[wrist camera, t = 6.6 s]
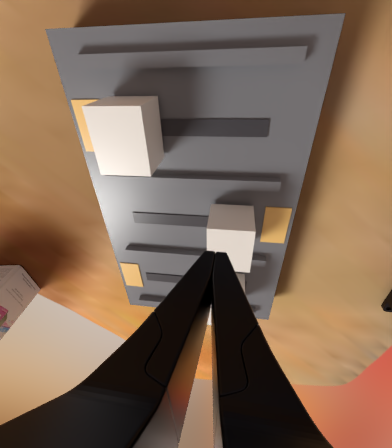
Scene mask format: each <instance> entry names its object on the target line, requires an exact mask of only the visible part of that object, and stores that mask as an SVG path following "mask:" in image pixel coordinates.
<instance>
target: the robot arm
mask: <svg viewBox="0 0 392 448" xmlns="http://www.w3.org/2000/svg"><path fill="white" fill-rule="evenodd" d="M381 306H382V308H383V310H384V311H386V312H392V290H391V292H390V293H389V295H388V296H387V298H386V299H385V301H384V302H383V303H382V305H381ZM210 309H211V333H212V381H213V429H214V448H333V447H332V445H331V444H330V443H329V442H328V441H327V440H326V438H325V437H324V436H323V435H322V433H321V432H320V431H319V429H318V428H317V426H316V425H315V424H314V422H313V421H312V419H311V417H310V416H309V414H308V413H307V411H306V409H305V407H304V406H303V404H302V403H301V401H300V399H299V397H298V396H297V394H296V392H295V391H294V389H293V387H292V386H291V384H290V382H289V381H288V379H287V377H286V376H285V374H284V372H283V371H282V369H281V367H280V365H279V364H278V362H277V360H276V358H275V356H274V355H273V353H272V351H271V349H270V347H269V345H268V343H267V341H266V339H265V337H264V335H263V332H262V330H261V328H260V326H259V325H258V321H257V319H256V317H255V315H254V312H253V310H252V308H251V306H250V304H249V301H248V299H247V297H246V295H245V292H244V290H243V288H242V286H241V284H240V281H239V279H238V277H237V275H236V272H235V270H234V268H233V266H232V263H231V261H230V259H229V257H228V255H227V253H226V252H216V253H215V252H214V251H204V252H203V253H202V254H201V256H200V257H199V258H198V259H197V260H196V261H195V263H194V264H193V265H192V266H191V267H190V269H189V270H188V271H187V272H186V273H185V274H184V276H183V277H182V278H181V279H180V280H179V281H178V283H177V284H176V285H175V286H174V287H173V289H172V290H171V291H170V292H169V293H168V294H167V296H166V297H165V298H164V299H163V300H162V302H161V303H160V304H159V305H158V306H157V307H156V309H155V310H154V312H152V313H151V314H150V316H149V317H148V318H147V319H146V320H145V321H144V322H143V324H142V325H141V326H140V327H139V328H138V329H137V330H136V331H135V332H134V333H133V334H132V335H131V336H130V337H129V338H128V339H127V340H126V341H125V342H124V343H123V344H122V345H121V346H120V347H119V348H118V349H117V350H116V351H115V352H114V353H113V354H112V355H111V356H110V357H108V358H107V359H106V360H105V361H104V362H103V363H102V364H101V365H100V366H99V367H98V368H97V369H96V370H95V371H94V372H93V373H92V374H90V375H89V376H88V377H87V378H86V379H85V380H84V381H82V382H81V383H80V384H79V385H77V386H76V387H75V388H73V389H72V390H70V391H68V392H67V393H65V394H63V395H61V396H59V397H57V398H55V399H53V400H51V401H49V402H47V403H45V404H43V405H41V406H39V407H37V408H35V409H33V410H31V411H29V412H26V413H24V414H22V415H20V416H19V417H16V418H14V419H12V420H10V421H8V422H6V423H4V424H2V425H0V448H178V443H179V441H180V437H181V432H182V428H183V424H184V419H185V415H186V411H187V407H188V403H189V398H190V394H191V390H192V386H193V382H194V377H195V373H196V369H197V365H198V360H199V356H200V352H201V348H202V343H203V339H204V335H205V331H206V327H207V322H208V318H209V314H210Z"/></svg>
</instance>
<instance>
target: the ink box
mask: <svg viewBox="0 0 392 448" xmlns="http://www.w3.org/2000/svg"><path fill="white" fill-rule="evenodd" d="M39 291H40V288H39V287H38V286H37V284H36V283H35V282H34V281H33V280H32V278H31V277H30V276H29V275H28V274H27V272H26V271H25V270H24V269H23V267H21V266H20V265H2V266H0V340H1V339H2V337H3V336H4V335H5V334H6V332H7V331H8V330H9V328H10V327H11V326H12V325H13V323H14V322H15V321H16V320H17V318H18V317H19V316H20V315H21V313H22V312H23V311H24V310H25V308H26V307H27V306H28V305H29V303H30V302H31V301H32V299H33V298H34V297H35V296H36V294H37V293H38V292H39Z"/></svg>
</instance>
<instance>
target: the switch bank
mask: <svg viewBox="0 0 392 448" xmlns="http://www.w3.org/2000/svg"><path fill="white" fill-rule="evenodd" d="M344 17H345V13H341V14H322V15H303V16H284V17H265V18H247V19H228V20H209V21H190V22H171V23H152V24H133V25H115V26H96V27H77V28H58V29H45V30H46V33H47V36H48V39H49V43H50V46H51V49H52V52H53V56H54V59H55V62H56V65H57V69H58V72H59V75H60V78H61V82H62V85H63V88H64V91H65V95H66V98H67V101H68V104H69V107H70V111H71V114H72V117H73V120H74V124H75V127H76V130H77V133H78V137H79V140H80V143H81V146H82V150H83V153H84V156H85V159H86V163H87V166H88V169H89V172H90V176H91V179H92V182H93V185H94V188H95V192H96V195H97V198H98V201H99V205H100V208H101V211H102V214H103V218H104V221H105V224H106V227H107V231H108V234H109V237H110V240H111V244H112V247H113V250H114V253H115V257H116V260H117V263H118V266H119V269H120V273H121V276H122V279H123V282H124V286H125V289H126V292H127V295H128V299H129V302H130V304H131V305H140V306H149V307H157V306H158V305H159V304H160V303H161V302H162V300H163V299H164V298H165V297H166V296H167V294H168V293H169V292H170V291H171V290H172V289H173V287H174V286H175V285H176V284H177V283H178V281H179V280H180V279H181V278H182V277H183V276H184V274H185V273H186V272H187V271H188V270H189V269H190V267H191V266H192V265H193V264H194V263H195V261H196V260H197V259H198V258H199V257H200V256H201V254H202V253H203V252H204V251H207V224H208V218H209V213H210V207H211V204H225V205H246V206H254V218H255V229H256V233H255V240H254V247H253V254H252V261H251V268H250V273H247V272H236V271H235V272H236V273H239V274H245V295H246V297H247V299H248V301H249V304H250V306H251V308H252V310H253V312H254V315H255V317H256V318H258V319H267V320H268V319H269V315H270V311H271V307H272V303H273V299H274V295H275V291H276V287H277V283H278V279H279V275H280V271H281V267H282V263H283V259H284V255H285V251H286V247H287V243H288V240H289V236H290V232H291V228H292V224H293V220H294V216H295V212H296V208H297V204H298V200H299V196H300V192H301V188H302V184H303V180H304V176H305V172H306V168H307V164H308V160H309V156H310V152H311V148H312V144H313V140H314V136H315V132H316V128H317V124H318V120H319V116H320V113H321V109H322V105H323V101H324V97H325V93H326V89H327V85H328V81H329V77H330V73H331V69H332V65H333V61H334V57H335V53H336V49H337V45H338V41H339V37H340V33H341V29H342V25H343V21H344ZM108 96H158V103H159V112H160V121H161V130H162V140H163V149H164V158H163V160H162V161H161V163H160V164H159V166H158V167H157V169H156V170H155V172H154V173H153V175H152V176H151V177H149V176H121V175H101V174H100V170H99V167H98V163H97V159H96V156H95V152H94V149H93V145H92V142H91V138H90V134H89V131H88V127H87V124H86V120H85V117H84V113H83V110H82V106H84V105H86V104H89V103H92V102H94V101H97V100H100V99H103V98H105V97H108Z"/></svg>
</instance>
